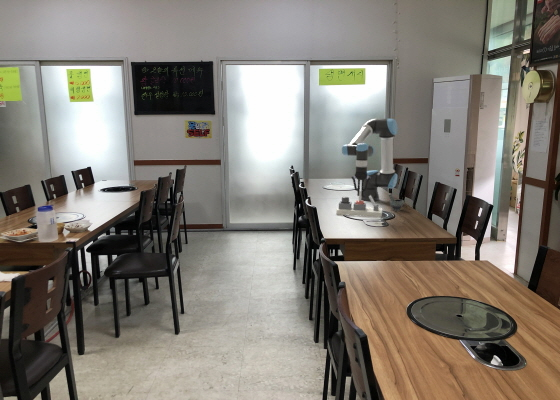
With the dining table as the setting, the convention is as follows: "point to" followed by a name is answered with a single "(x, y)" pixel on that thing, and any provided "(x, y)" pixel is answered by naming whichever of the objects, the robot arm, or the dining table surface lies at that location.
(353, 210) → the console
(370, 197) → the lever
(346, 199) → the button black
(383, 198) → the dining table surface
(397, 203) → the mortar and pestle
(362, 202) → the button red
